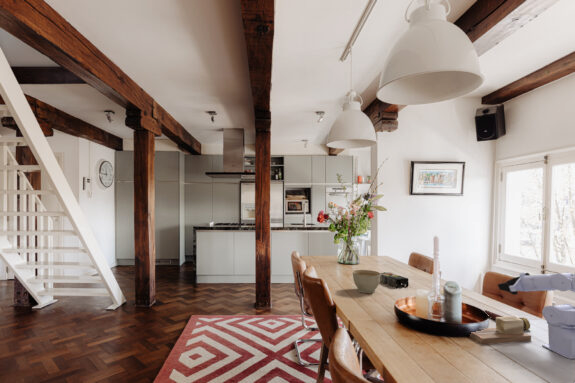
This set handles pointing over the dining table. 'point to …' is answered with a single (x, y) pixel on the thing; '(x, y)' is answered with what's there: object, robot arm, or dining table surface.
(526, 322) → the gavel
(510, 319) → the pale gold block
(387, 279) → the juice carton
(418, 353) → the dining table surface
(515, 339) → the walnut board
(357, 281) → the planter bowl
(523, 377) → the dining table surface
